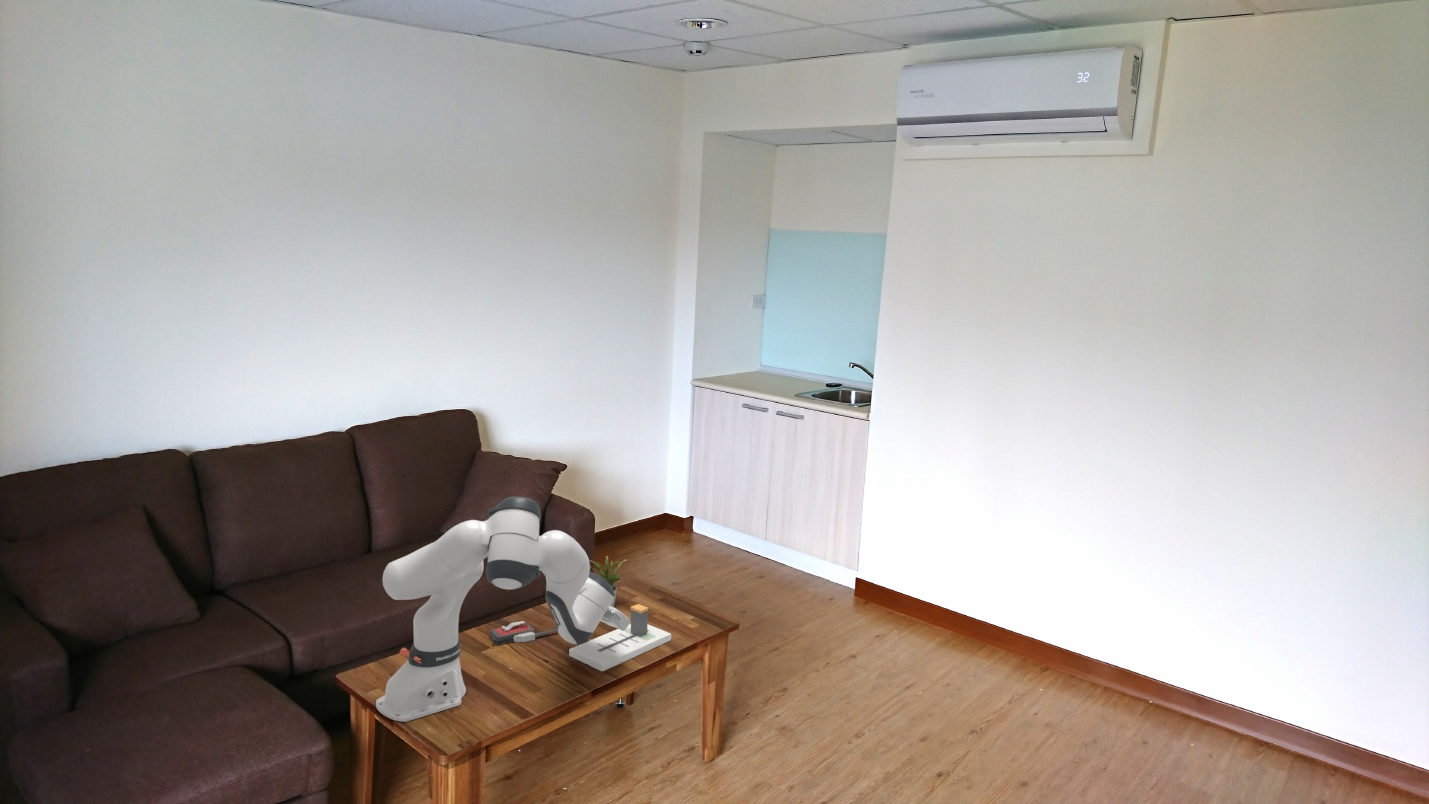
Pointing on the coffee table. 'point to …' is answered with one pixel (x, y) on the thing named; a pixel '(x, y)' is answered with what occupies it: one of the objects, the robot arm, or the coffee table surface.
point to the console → (618, 647)
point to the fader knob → (639, 619)
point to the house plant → (605, 575)
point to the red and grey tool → (515, 633)
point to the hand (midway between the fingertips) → (612, 623)
